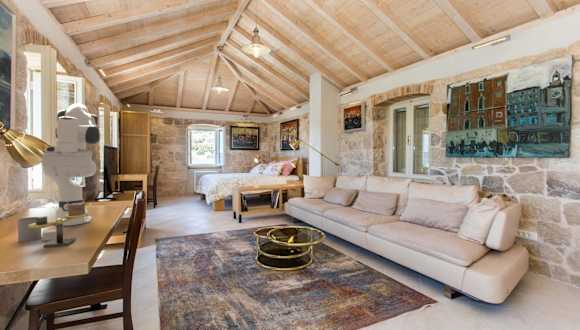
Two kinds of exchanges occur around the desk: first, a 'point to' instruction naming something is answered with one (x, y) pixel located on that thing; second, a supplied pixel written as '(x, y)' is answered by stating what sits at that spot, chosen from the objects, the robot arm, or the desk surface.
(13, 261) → the desk surface
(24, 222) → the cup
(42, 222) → the balance
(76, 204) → the walnut block
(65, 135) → the robot arm
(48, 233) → the grey stone block
